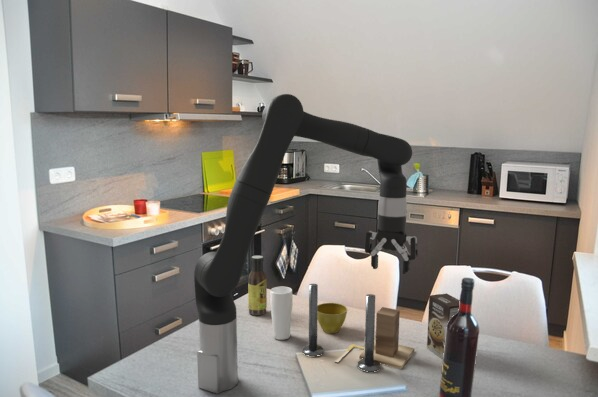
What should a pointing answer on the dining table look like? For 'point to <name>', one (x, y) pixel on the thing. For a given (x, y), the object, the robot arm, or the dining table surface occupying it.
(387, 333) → the walnut block
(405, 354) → the pad
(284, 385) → the dining table surface
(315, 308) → the post left
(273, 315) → the drinking glass
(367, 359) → the post right
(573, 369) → the dining table surface
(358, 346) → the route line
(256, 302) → the sauce bottle
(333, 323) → the flower pot
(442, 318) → the coffee box
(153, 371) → the dining table surface
